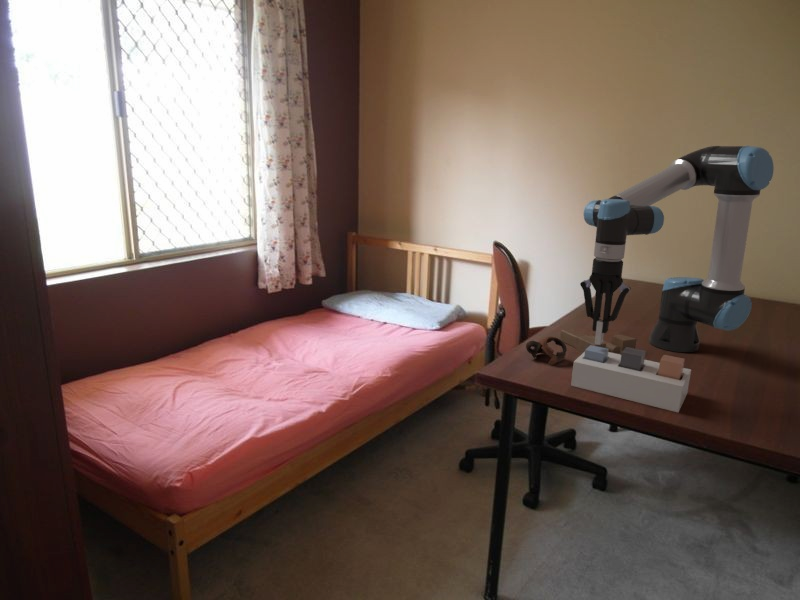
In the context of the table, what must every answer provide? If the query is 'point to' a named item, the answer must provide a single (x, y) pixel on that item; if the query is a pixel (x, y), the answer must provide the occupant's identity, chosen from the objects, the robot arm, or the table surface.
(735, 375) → the table surface
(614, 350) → the wooden block set
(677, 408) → the key console
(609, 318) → the robot arm
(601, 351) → the slate key
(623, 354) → the charcoal key
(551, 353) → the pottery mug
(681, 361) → the terracotta key
